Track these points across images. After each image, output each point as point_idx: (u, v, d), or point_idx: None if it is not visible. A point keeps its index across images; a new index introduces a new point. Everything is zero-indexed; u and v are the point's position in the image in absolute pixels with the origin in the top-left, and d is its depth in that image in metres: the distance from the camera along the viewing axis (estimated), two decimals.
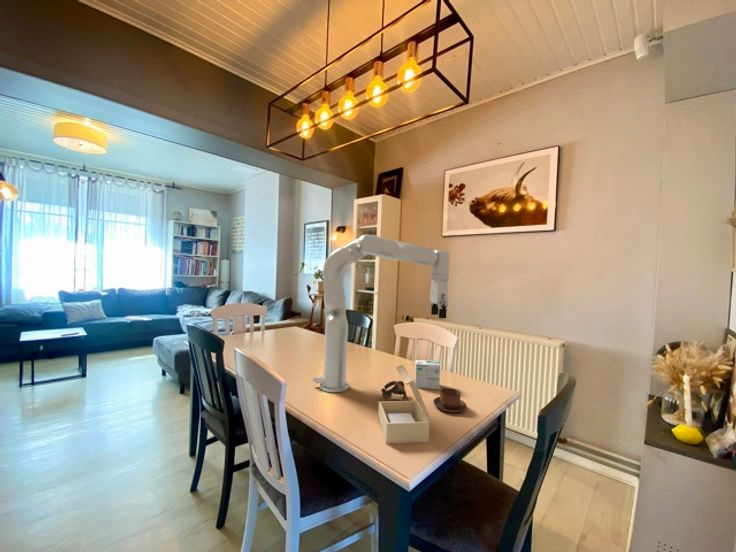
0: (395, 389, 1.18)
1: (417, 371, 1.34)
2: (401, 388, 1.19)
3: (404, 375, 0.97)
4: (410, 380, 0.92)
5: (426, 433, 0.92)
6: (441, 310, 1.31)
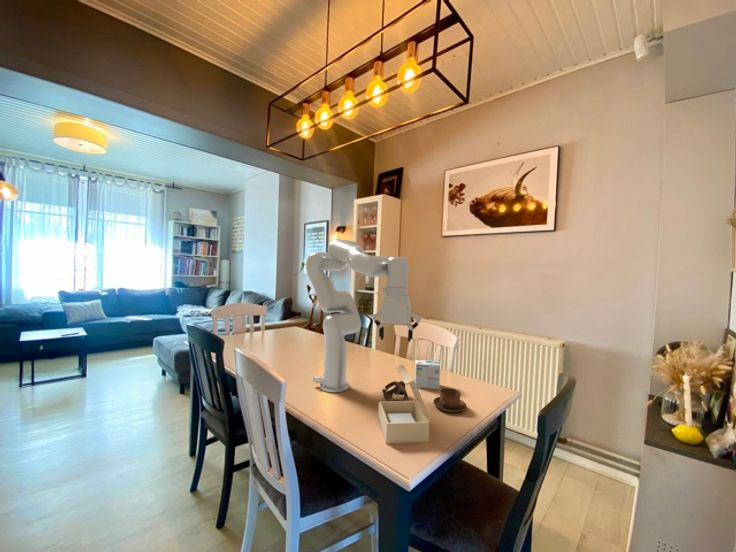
0: (396, 389, 1.17)
1: (417, 371, 1.34)
2: (402, 388, 1.19)
3: (404, 375, 0.97)
4: (410, 380, 0.92)
5: (426, 433, 0.92)
6: (411, 331, 1.07)
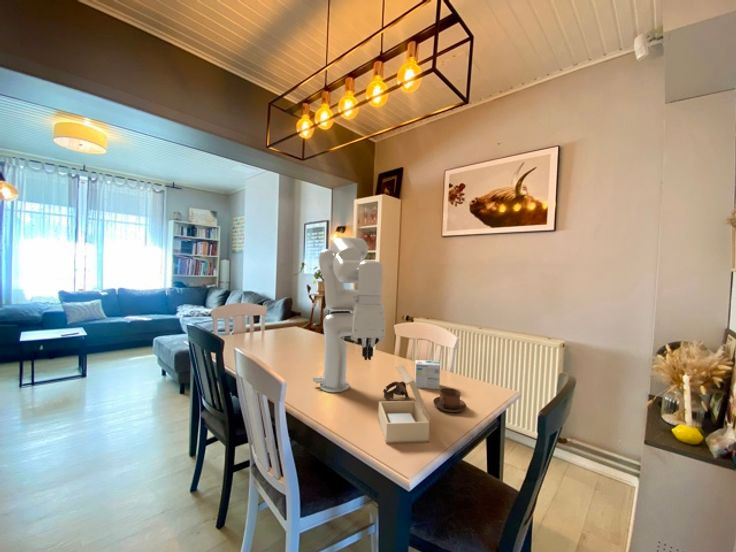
0: (397, 390, 1.17)
1: (417, 371, 1.34)
2: (403, 389, 1.18)
3: (404, 375, 0.97)
4: (410, 380, 0.92)
5: (426, 433, 0.92)
6: (372, 348, 0.96)
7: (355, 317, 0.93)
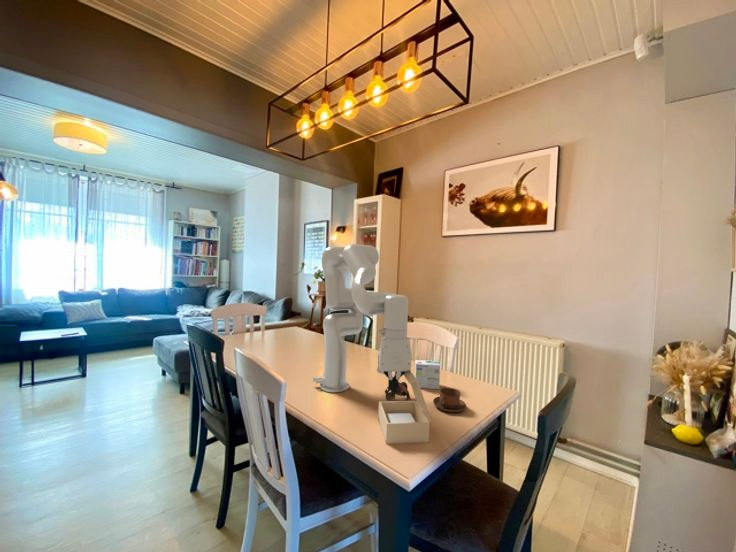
0: (399, 390, 1.16)
1: (417, 371, 1.34)
2: (405, 389, 1.18)
3: (407, 374, 0.97)
4: (413, 379, 0.92)
5: (426, 433, 0.92)
6: (397, 381, 0.97)
7: (382, 351, 0.95)
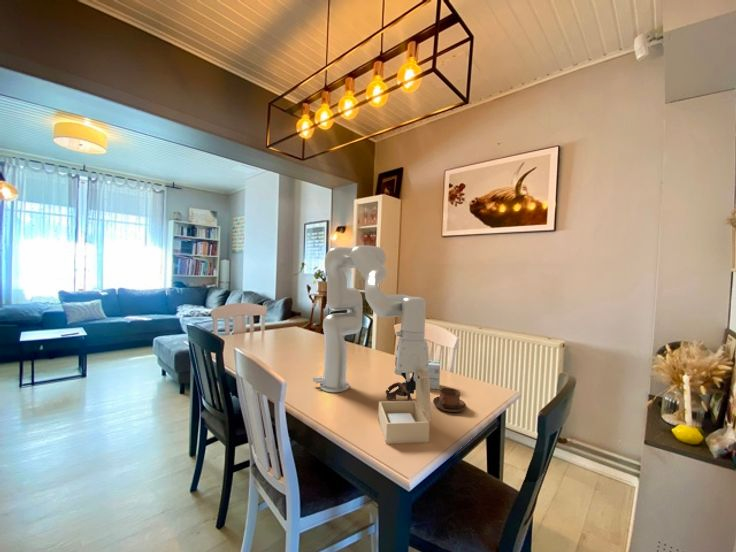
0: (400, 391, 1.16)
1: None
2: (405, 390, 1.17)
3: None
4: (425, 375, 0.92)
5: (426, 433, 0.92)
6: (414, 382, 0.98)
7: (400, 353, 0.95)
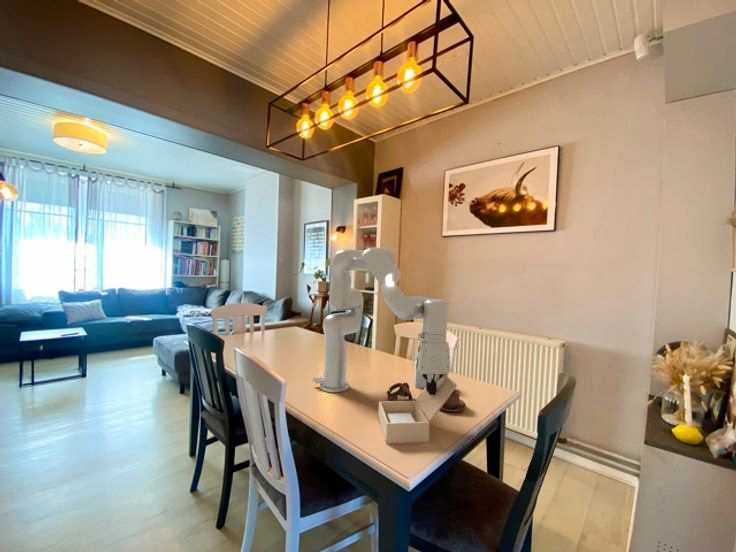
0: (401, 391, 1.16)
1: None
2: (407, 390, 1.17)
3: None
4: None
5: (426, 433, 0.92)
6: None
7: (422, 354, 0.96)
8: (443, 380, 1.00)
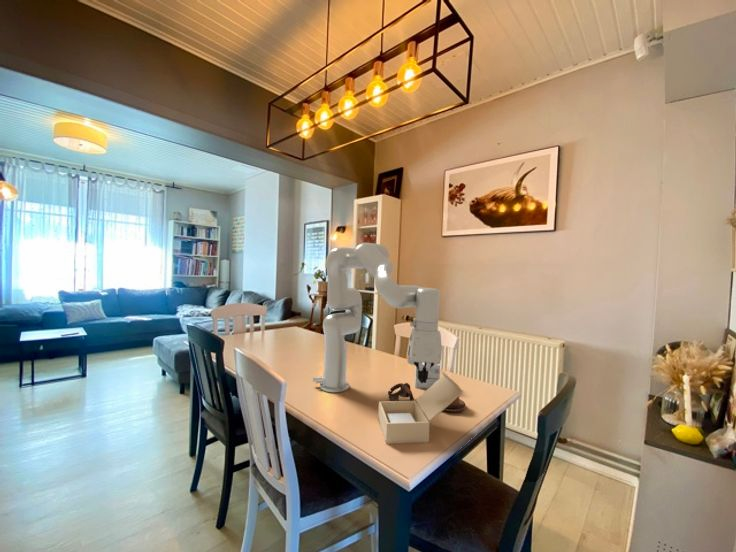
0: (402, 392, 1.15)
1: (417, 371, 1.34)
2: (408, 391, 1.17)
3: (452, 380, 0.99)
4: (460, 388, 0.94)
5: (426, 433, 0.92)
6: (427, 372, 1.00)
7: (413, 342, 0.97)
8: (448, 385, 1.00)
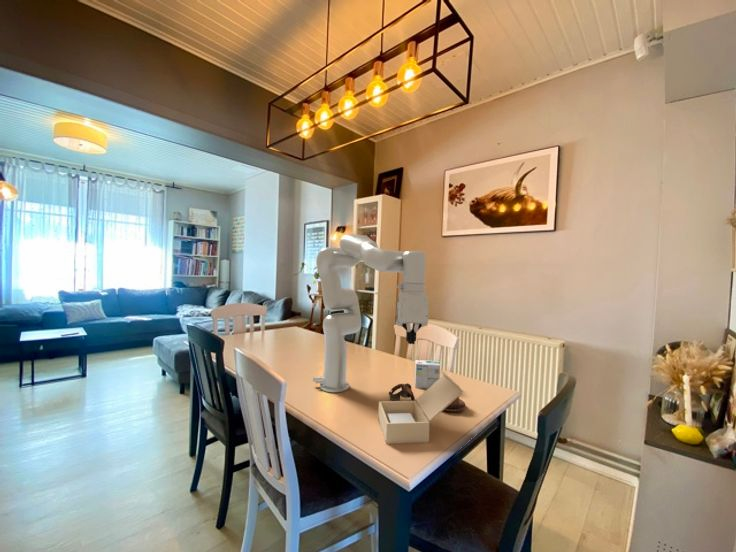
0: (403, 392, 1.15)
1: (417, 371, 1.34)
2: (409, 391, 1.16)
3: (452, 380, 0.99)
4: (460, 388, 0.94)
5: (426, 433, 0.92)
6: (415, 333, 1.02)
7: (401, 303, 0.99)
8: (448, 385, 1.00)
